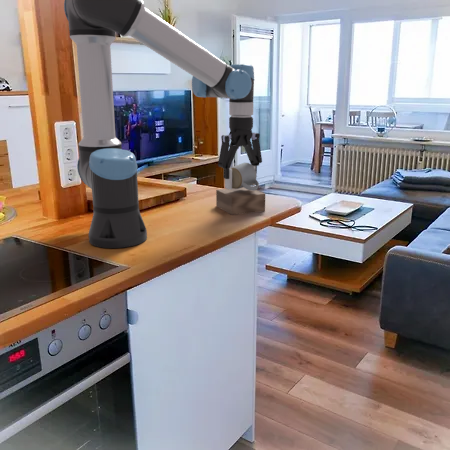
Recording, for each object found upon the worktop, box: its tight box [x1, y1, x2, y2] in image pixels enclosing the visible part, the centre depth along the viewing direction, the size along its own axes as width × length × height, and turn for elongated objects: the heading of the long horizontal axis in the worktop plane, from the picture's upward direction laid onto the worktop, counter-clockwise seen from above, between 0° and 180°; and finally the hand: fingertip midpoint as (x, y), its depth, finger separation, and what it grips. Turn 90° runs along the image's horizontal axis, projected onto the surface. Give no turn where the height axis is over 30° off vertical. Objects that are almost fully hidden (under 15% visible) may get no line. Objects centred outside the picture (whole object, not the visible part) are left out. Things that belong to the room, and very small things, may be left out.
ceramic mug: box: [230, 162, 260, 191], centre depth 154 cm, size 11×8×8 cm
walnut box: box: [215, 187, 266, 216], centre depth 158 cm, size 12×12×6 cm
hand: (240, 186), depth 156 cm, fingers closed on ceramic mug, 9 cm apart
